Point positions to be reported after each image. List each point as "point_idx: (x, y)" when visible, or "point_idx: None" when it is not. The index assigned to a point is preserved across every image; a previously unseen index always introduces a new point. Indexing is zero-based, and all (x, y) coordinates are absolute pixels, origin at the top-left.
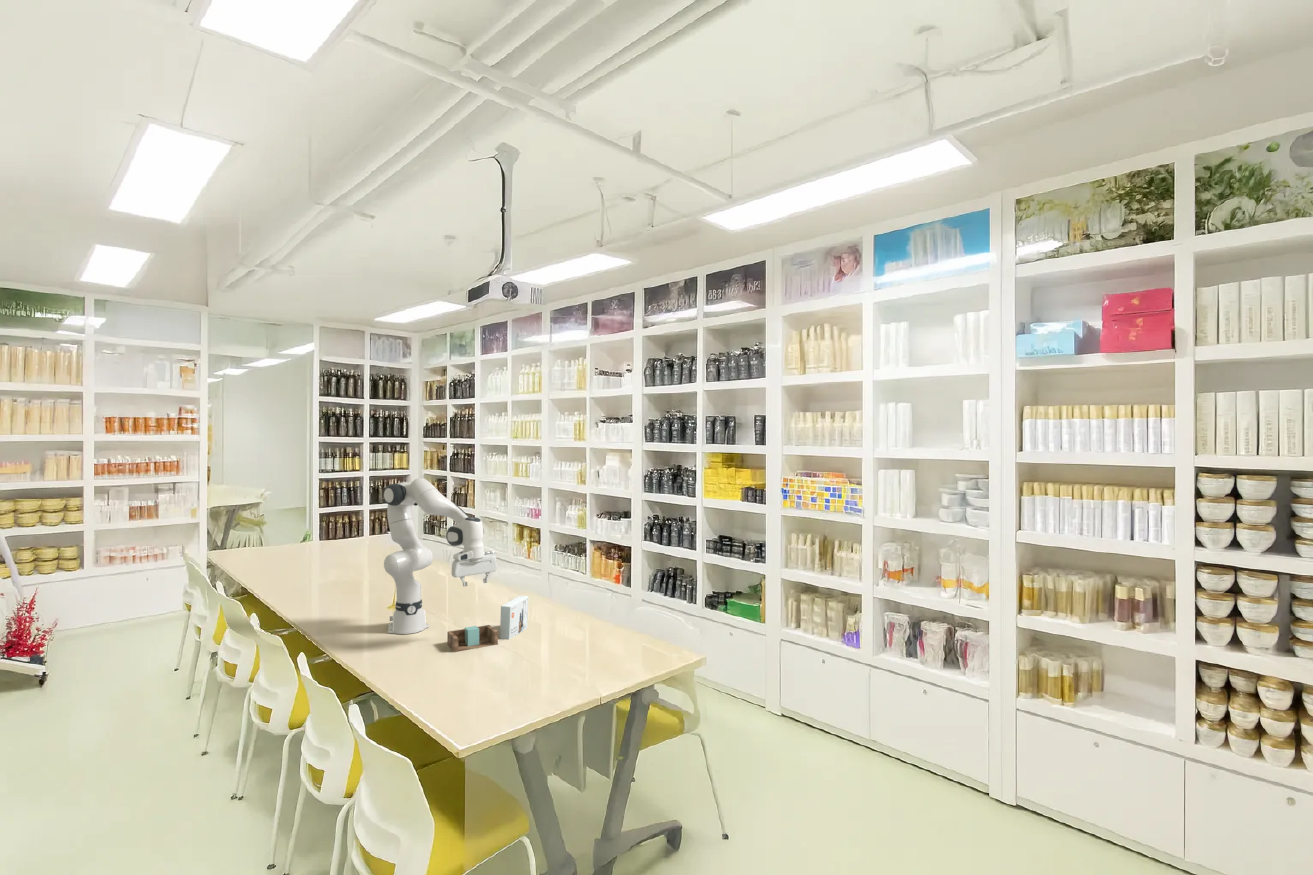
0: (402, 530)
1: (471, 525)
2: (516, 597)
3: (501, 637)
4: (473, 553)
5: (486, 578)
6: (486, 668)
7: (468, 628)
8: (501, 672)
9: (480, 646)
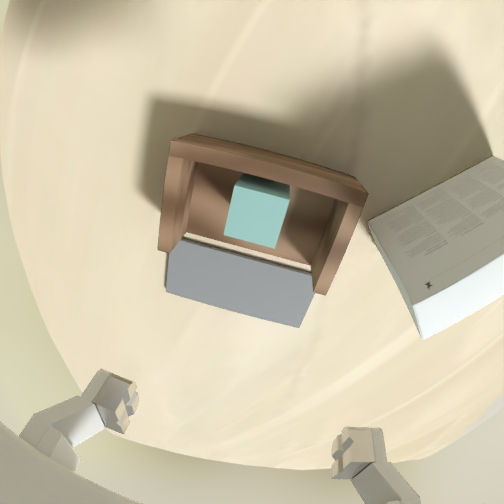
0: None
1: None
2: None
3: (371, 232)
4: None
5: (353, 483)
6: (199, 359)
7: (240, 210)
8: (213, 387)
9: None
